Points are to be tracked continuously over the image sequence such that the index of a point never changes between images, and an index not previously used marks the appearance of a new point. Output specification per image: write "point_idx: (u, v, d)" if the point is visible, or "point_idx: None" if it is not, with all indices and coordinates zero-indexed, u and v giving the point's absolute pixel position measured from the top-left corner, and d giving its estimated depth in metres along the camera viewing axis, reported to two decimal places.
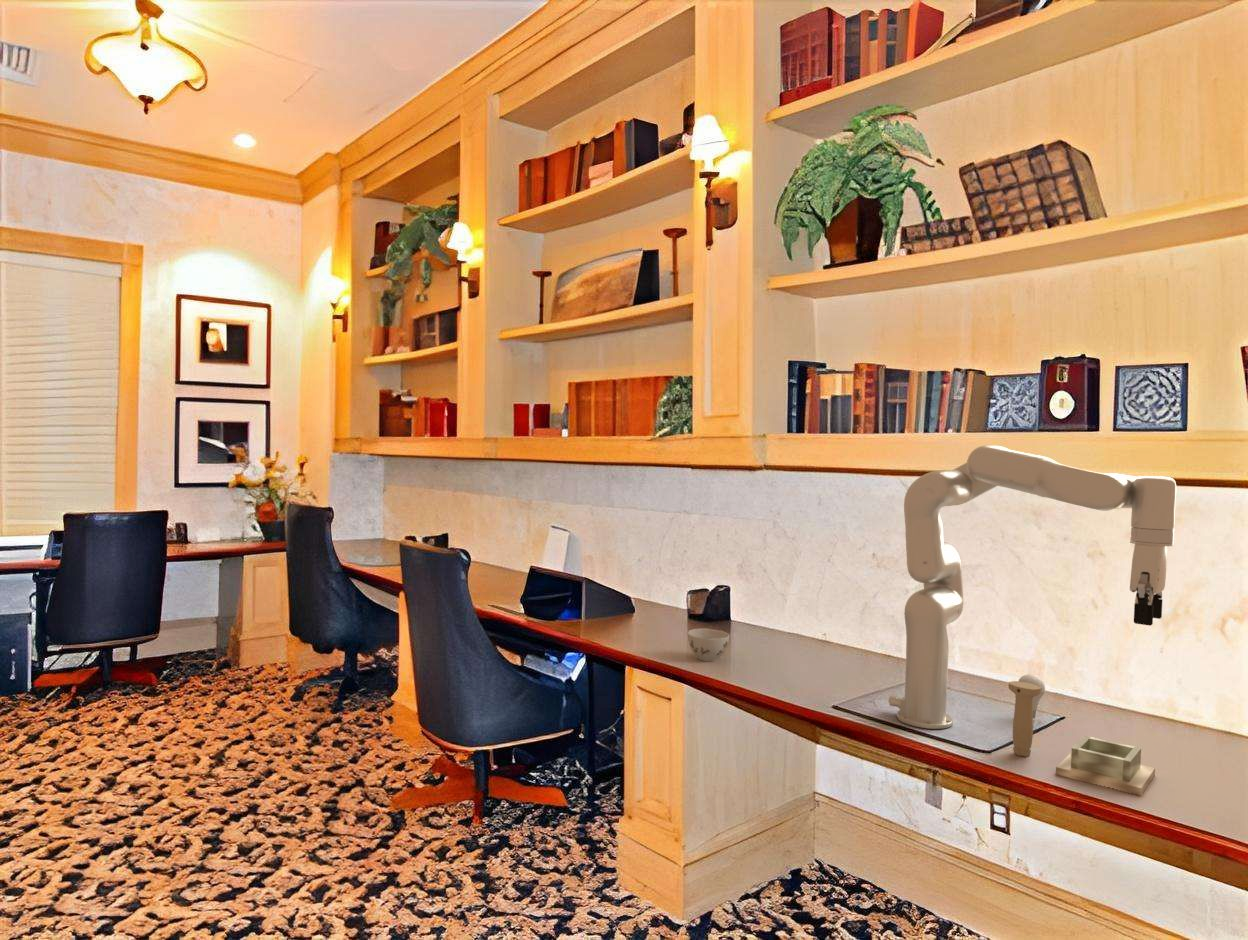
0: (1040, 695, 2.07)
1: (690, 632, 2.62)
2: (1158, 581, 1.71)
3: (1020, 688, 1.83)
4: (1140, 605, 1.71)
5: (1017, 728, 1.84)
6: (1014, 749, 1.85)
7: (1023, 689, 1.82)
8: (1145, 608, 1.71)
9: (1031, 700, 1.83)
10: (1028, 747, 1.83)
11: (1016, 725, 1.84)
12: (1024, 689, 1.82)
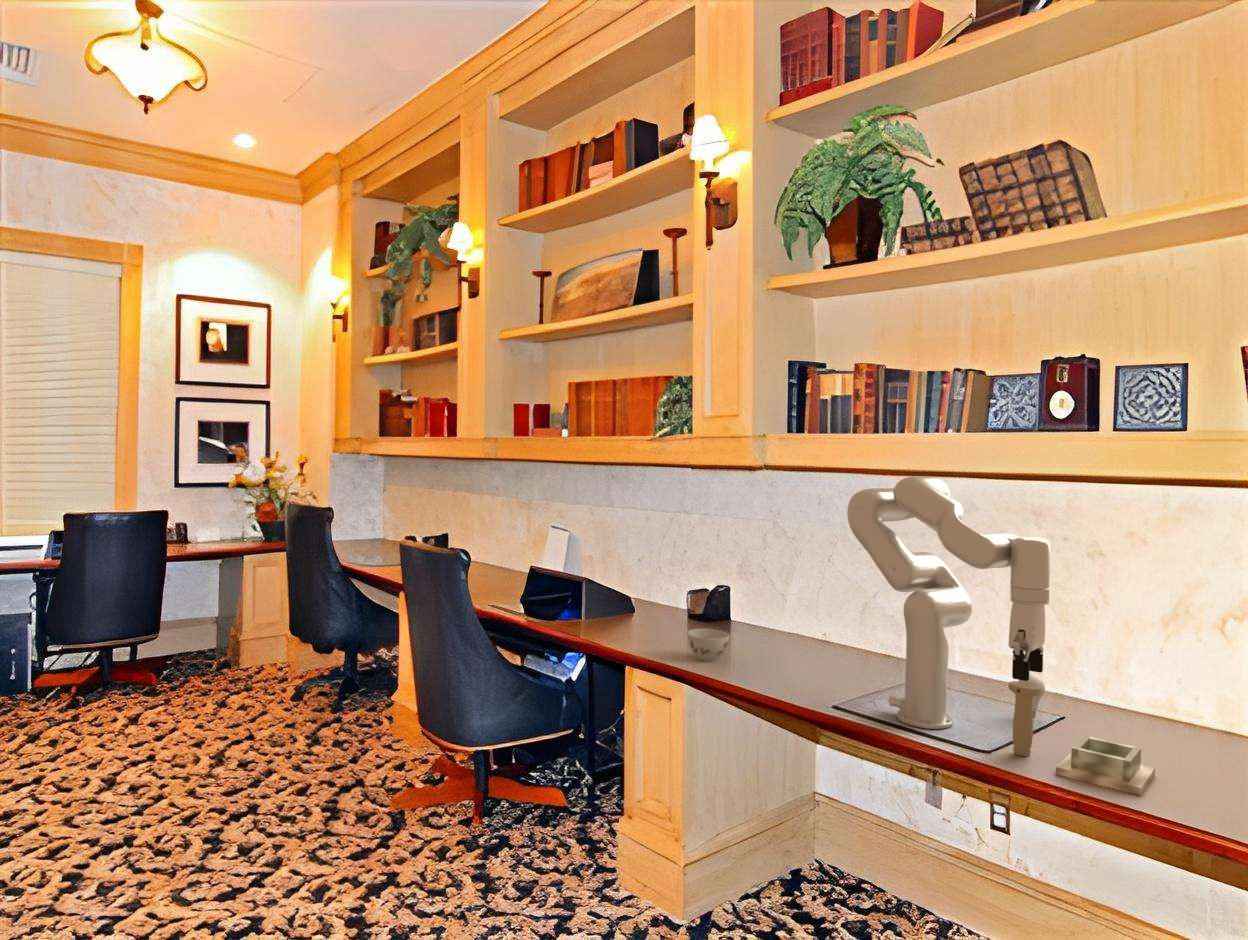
0: (1040, 695, 2.07)
1: (690, 632, 2.62)
2: (1033, 638, 1.80)
3: (1020, 688, 1.83)
4: (1017, 661, 1.80)
5: (1017, 728, 1.84)
6: (1014, 749, 1.85)
7: (1023, 689, 1.82)
8: (1021, 664, 1.79)
9: (1031, 700, 1.83)
10: (1028, 747, 1.83)
11: (1016, 725, 1.84)
12: (1024, 689, 1.82)
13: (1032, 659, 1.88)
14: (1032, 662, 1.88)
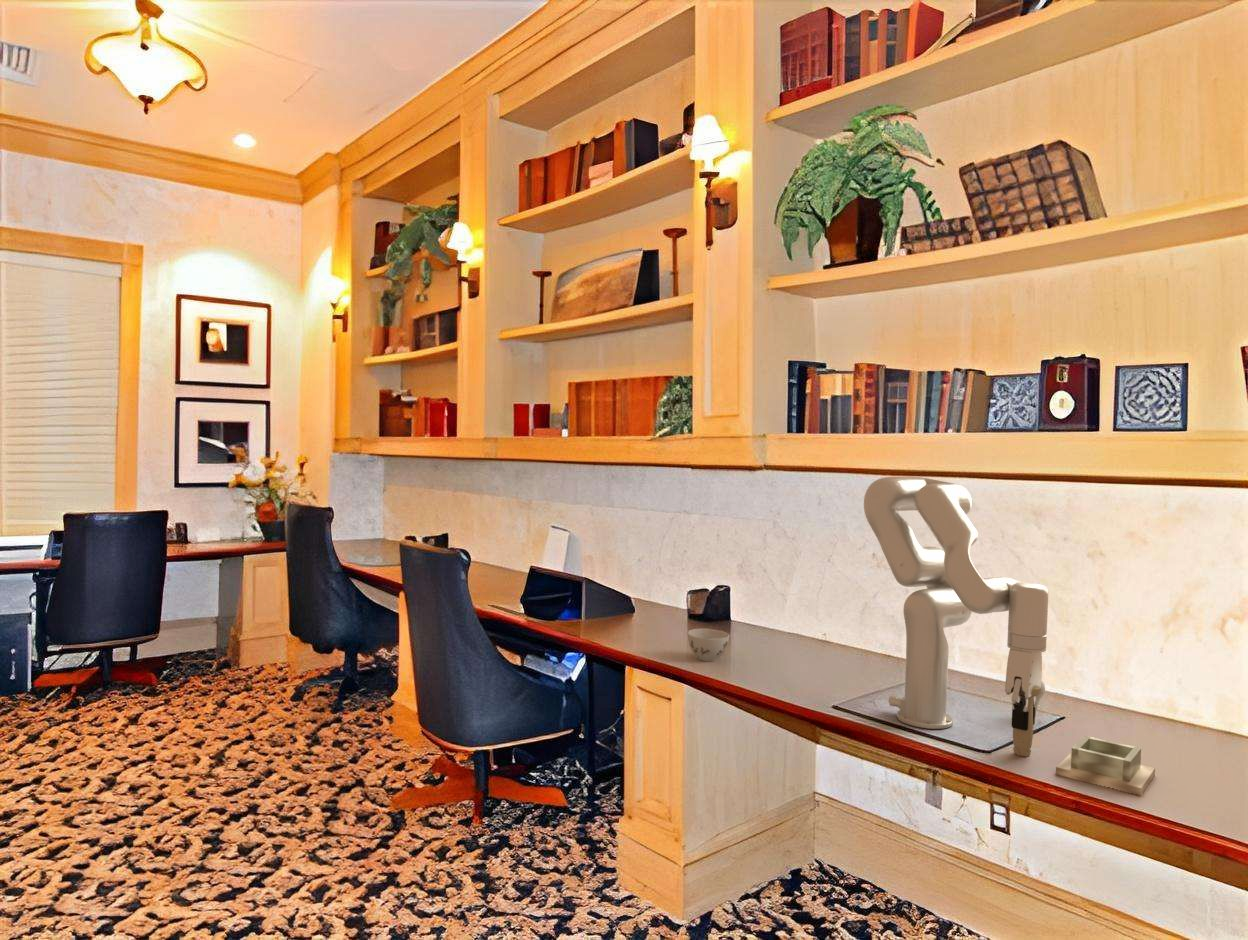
0: (1040, 695, 2.07)
1: (690, 632, 2.62)
2: (1030, 686, 1.80)
3: None
4: (1016, 711, 1.83)
5: None
6: (1014, 749, 1.85)
7: None
8: (1021, 714, 1.82)
9: (1031, 700, 1.83)
10: (1028, 747, 1.83)
11: None
12: None
13: None
14: None
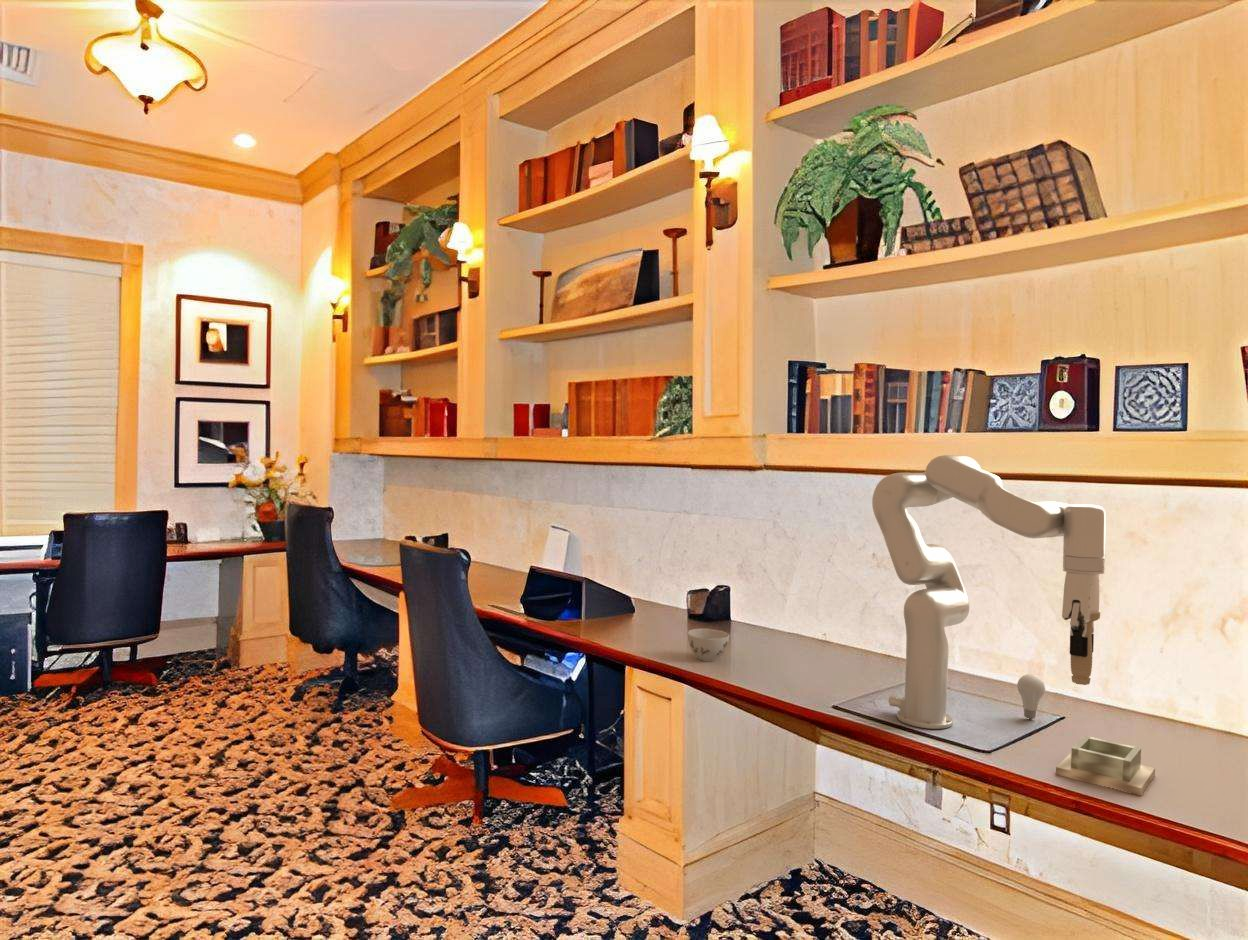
0: (1040, 695, 2.07)
1: (690, 632, 2.62)
2: (1089, 609, 1.73)
3: None
4: (1075, 637, 1.75)
5: (1076, 656, 1.76)
6: (1073, 678, 1.78)
7: None
8: (1080, 640, 1.75)
9: (1090, 625, 1.76)
10: (1088, 675, 1.76)
11: None
12: None
13: None
14: None
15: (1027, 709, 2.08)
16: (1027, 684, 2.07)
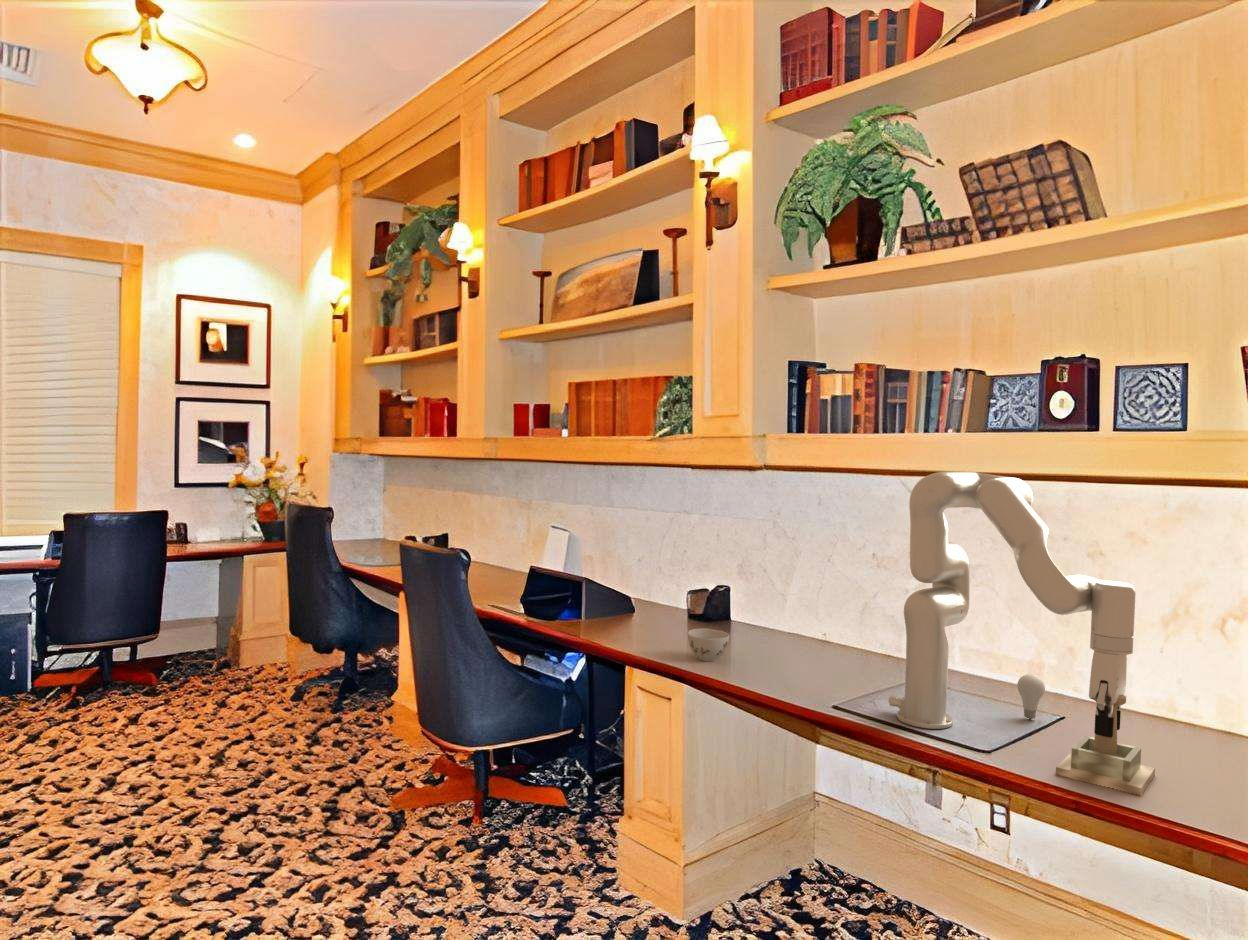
0: (1040, 695, 2.07)
1: (690, 632, 2.62)
2: (1117, 690, 1.70)
3: None
4: (1100, 717, 1.71)
5: (1101, 740, 1.74)
6: None
7: (1107, 698, 1.72)
8: (1105, 720, 1.71)
9: (1115, 710, 1.73)
10: None
11: (1099, 737, 1.74)
12: (1108, 698, 1.72)
13: None
14: None
15: (1027, 709, 2.08)
16: (1027, 684, 2.07)
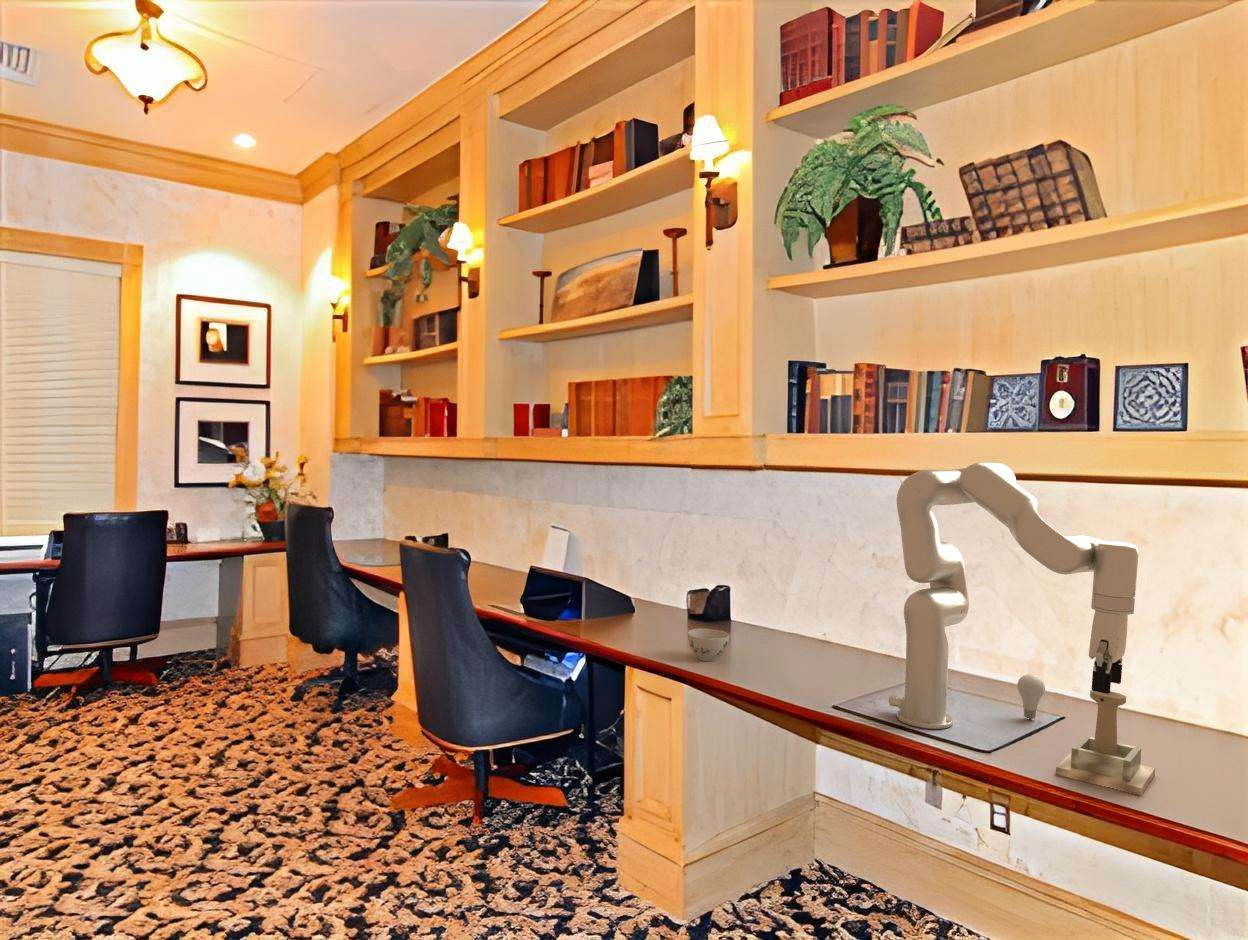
0: (1040, 695, 2.07)
1: (690, 632, 2.62)
2: (1117, 649, 1.70)
3: (1104, 697, 1.73)
4: (1098, 673, 1.70)
5: (1101, 740, 1.74)
6: None
7: (1107, 698, 1.72)
8: (1103, 676, 1.70)
9: (1115, 710, 1.73)
10: None
11: (1099, 737, 1.74)
12: (1108, 698, 1.72)
13: (1110, 669, 1.78)
14: (1110, 672, 1.78)
15: (1027, 709, 2.08)
16: (1027, 684, 2.07)
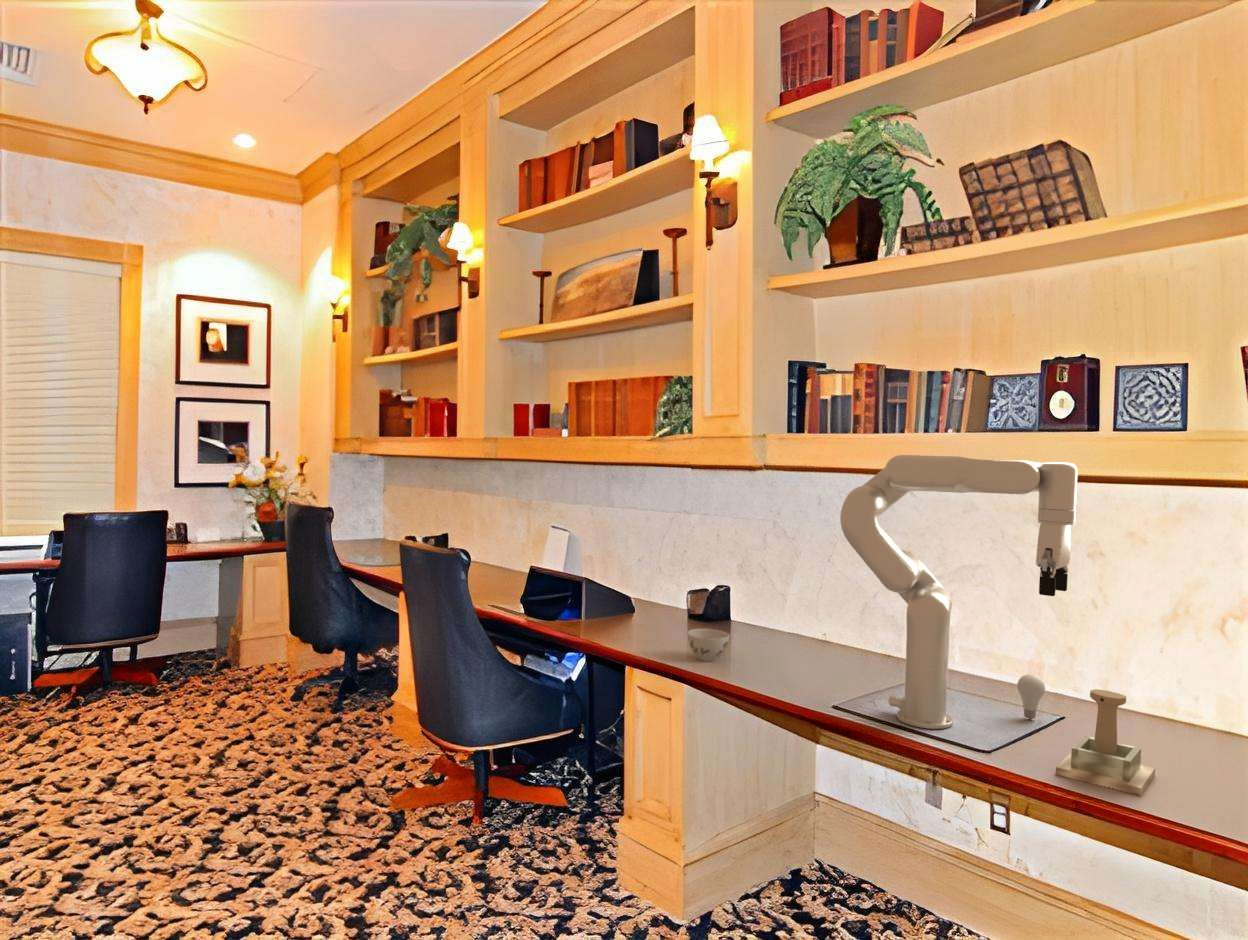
0: (1040, 695, 2.07)
1: (690, 632, 2.62)
2: (1060, 556, 1.90)
3: (1104, 697, 1.73)
4: (1044, 578, 1.90)
5: (1101, 740, 1.74)
6: None
7: (1107, 698, 1.72)
8: (1048, 580, 1.90)
9: (1115, 710, 1.73)
10: None
11: (1099, 737, 1.74)
12: (1108, 698, 1.72)
13: (1057, 579, 1.98)
14: (1057, 581, 1.98)
15: (1027, 709, 2.08)
16: (1027, 684, 2.07)
